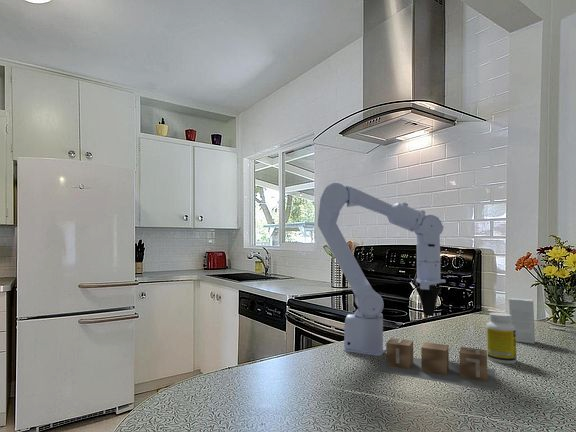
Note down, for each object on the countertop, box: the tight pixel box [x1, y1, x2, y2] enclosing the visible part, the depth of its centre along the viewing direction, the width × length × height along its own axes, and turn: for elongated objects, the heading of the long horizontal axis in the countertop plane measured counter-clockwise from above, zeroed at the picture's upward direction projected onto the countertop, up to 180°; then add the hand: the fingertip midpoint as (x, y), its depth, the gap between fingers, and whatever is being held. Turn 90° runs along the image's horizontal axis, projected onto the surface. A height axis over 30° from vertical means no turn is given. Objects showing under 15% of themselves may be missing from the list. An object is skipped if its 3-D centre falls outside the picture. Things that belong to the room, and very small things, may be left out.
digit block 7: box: [458, 346, 488, 382], centre depth 80 cm, size 5×5×5 cm
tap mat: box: [373, 356, 497, 392], centre depth 83 cm, size 23×14×1 cm, turn 62°
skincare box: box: [508, 297, 536, 345], centre depth 111 cm, size 6×4×12 cm
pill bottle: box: [485, 312, 517, 365], centre depth 91 cm, size 6×6×11 cm
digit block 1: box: [385, 337, 414, 369], centre depth 86 cm, size 5×5×5 cm
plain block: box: [420, 341, 450, 375], centre depth 83 cm, size 5×5×5 cm
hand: (429, 315), depth 97 cm, fingers closed
